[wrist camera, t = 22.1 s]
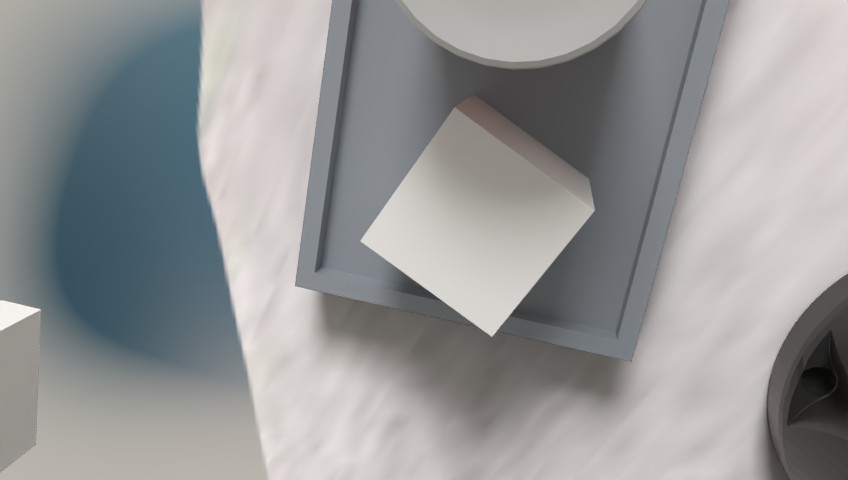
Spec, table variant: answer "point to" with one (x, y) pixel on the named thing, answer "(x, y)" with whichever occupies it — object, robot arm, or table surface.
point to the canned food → (520, 28)
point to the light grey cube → (481, 214)
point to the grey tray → (543, 120)
